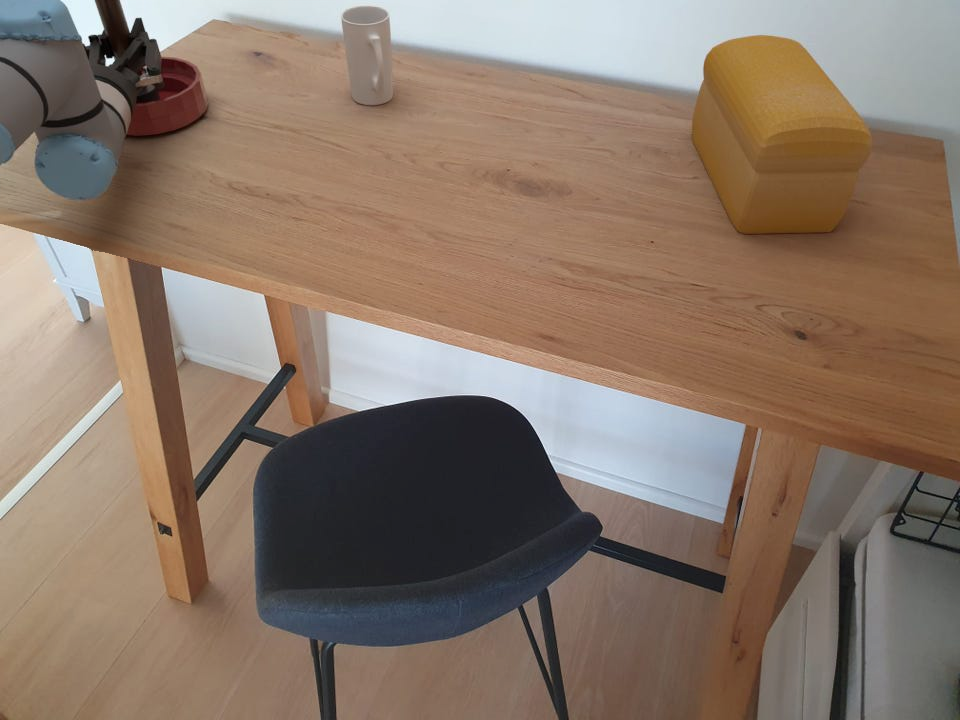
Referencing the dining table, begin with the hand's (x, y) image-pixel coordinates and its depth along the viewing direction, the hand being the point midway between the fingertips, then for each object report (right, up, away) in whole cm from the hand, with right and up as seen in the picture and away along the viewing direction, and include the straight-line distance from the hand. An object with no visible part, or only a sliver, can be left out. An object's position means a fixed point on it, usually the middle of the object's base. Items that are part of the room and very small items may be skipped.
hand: (127, 28), depth 108 cm
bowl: (+2, -11, +4) cm, 12 cm away
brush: (+1, -10, +3) cm, 11 cm away
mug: (+34, -8, +7) cm, 36 cm away
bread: (+86, -23, -7) cm, 89 cm away
